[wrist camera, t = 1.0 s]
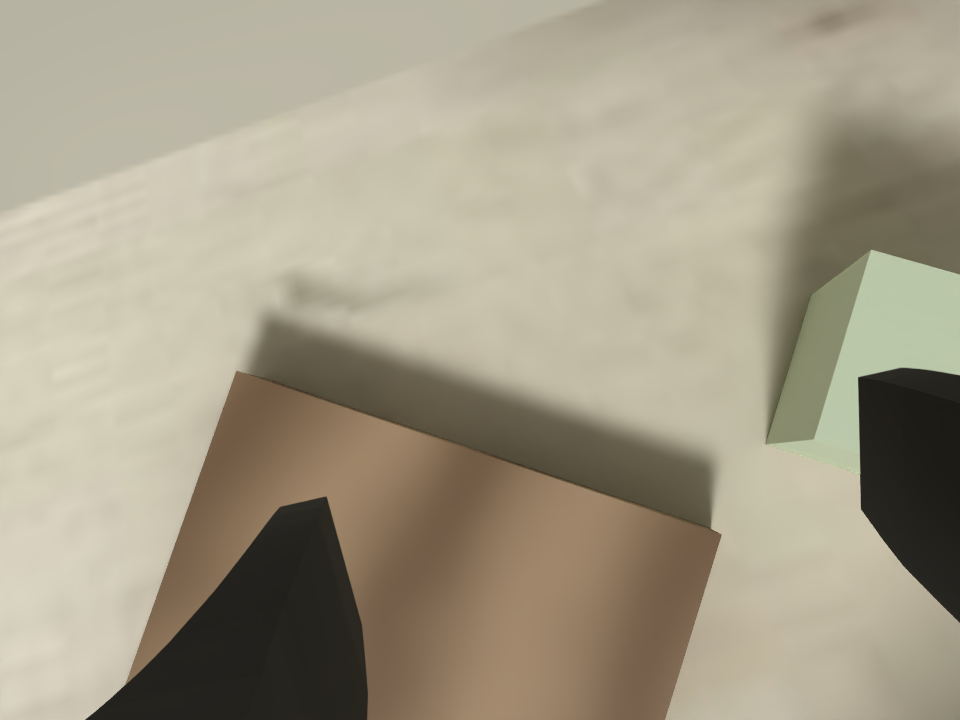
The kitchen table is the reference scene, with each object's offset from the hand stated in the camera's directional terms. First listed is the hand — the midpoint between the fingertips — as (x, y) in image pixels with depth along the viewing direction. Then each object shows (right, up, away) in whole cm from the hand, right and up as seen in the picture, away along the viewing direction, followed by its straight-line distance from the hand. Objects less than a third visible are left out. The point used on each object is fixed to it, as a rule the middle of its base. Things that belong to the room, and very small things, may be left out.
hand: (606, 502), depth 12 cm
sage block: (+9, +1, +13) cm, 16 cm away
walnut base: (-4, -7, +14) cm, 16 cm away
